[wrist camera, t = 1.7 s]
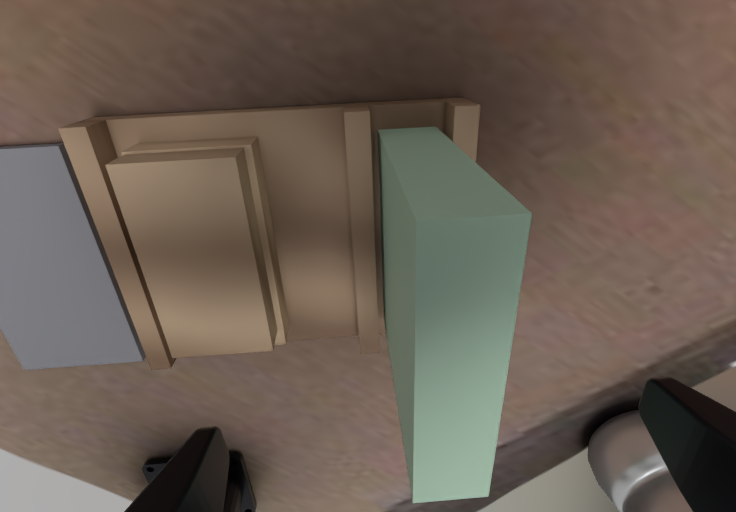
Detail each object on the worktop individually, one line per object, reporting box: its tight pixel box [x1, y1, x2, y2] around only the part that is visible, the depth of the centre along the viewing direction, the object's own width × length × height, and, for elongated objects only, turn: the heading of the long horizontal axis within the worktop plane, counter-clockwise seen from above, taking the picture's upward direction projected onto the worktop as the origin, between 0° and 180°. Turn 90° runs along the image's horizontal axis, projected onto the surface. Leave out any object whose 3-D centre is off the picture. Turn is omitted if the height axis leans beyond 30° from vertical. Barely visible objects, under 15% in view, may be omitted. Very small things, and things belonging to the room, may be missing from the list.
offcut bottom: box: [121, 137, 289, 345], centre depth 19 cm, size 10×5×2 cm, turn 2°
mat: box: [0, 143, 146, 370], centre depth 20 cm, size 12×6×1 cm, turn 2°
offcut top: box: [105, 148, 277, 358], centre depth 17 cm, size 9×5×2 cm, turn 2°
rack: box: [58, 97, 480, 370], centre depth 20 cm, size 12×16×2 cm
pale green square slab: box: [378, 127, 532, 503], centre depth 16 cm, size 10×2×10 cm, turn 2°
